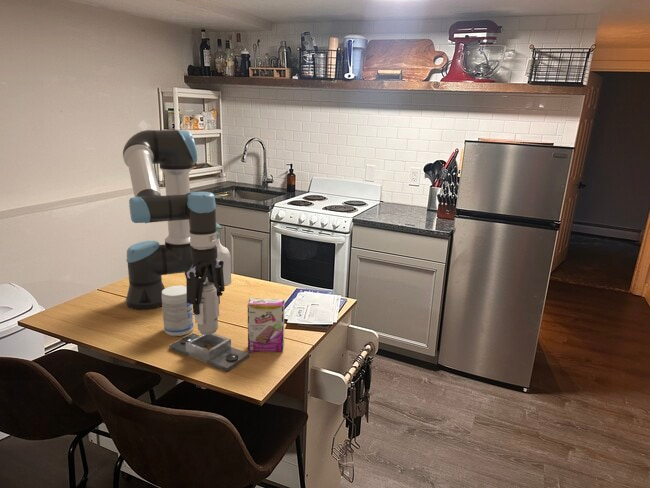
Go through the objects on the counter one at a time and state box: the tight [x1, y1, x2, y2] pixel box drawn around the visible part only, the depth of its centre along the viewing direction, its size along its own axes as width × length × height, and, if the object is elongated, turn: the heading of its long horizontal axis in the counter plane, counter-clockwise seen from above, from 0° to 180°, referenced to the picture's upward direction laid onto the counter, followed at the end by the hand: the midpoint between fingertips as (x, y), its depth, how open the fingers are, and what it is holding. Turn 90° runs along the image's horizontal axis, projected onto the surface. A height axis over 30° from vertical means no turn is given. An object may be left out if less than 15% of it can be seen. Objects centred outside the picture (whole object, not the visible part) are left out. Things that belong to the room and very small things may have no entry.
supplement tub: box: [161, 285, 195, 337], centre depth 157 cm, size 10×10×15 cm
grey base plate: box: [168, 332, 250, 372], centre depth 144 cm, size 24×10×4 cm, turn 59°
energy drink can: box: [197, 282, 219, 335], centre depth 140 cm, size 6×6×15 cm
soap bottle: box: [205, 222, 232, 287], centre depth 195 cm, size 11×8×27 cm
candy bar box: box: [247, 298, 286, 353], centre depth 146 cm, size 11×5×16 cm, turn 91°
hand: (207, 319), depth 141 cm, fingers closed on energy drink can, 6 cm apart
